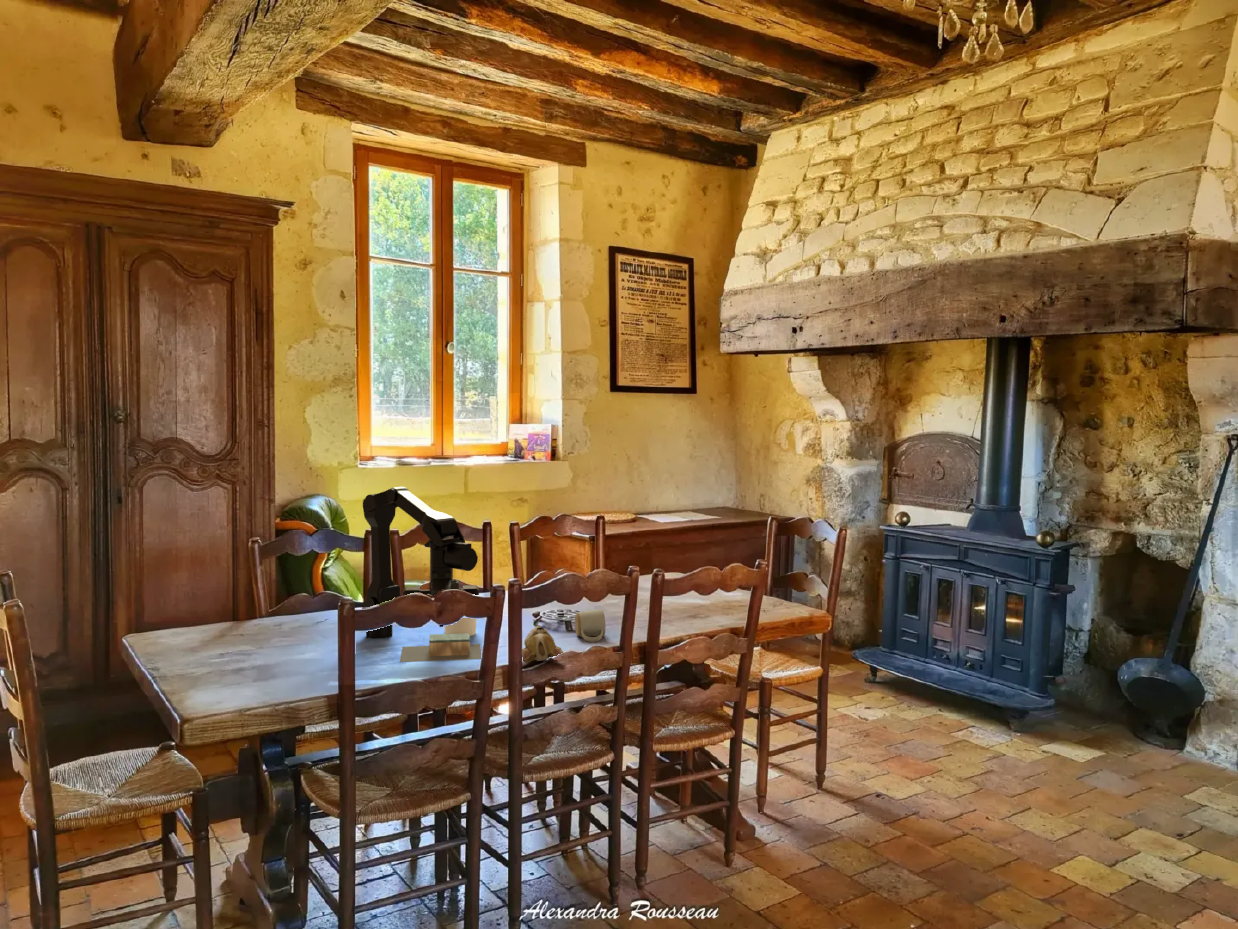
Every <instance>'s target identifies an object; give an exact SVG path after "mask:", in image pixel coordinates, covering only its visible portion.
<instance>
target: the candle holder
mask: <svg viewBox="0 0 1238 929" xmlns="http://www.w3.org/2000/svg"><path fill="white" fill-rule="evenodd" d="M443 627H444V634H464V633H469V637H471V636H474V635H476V632H477V619H471V618H462V619H460V621H458V622H457V623H454V624H453V625H448V626H444V625H443Z"/></svg>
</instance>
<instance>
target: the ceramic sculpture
mask: <svg viewBox="0 0 1238 929" xmlns="http://www.w3.org/2000/svg"><path fill="white" fill-rule="evenodd" d="M524 646H525V647H523V648H522V649H521V650H522V657H523V661H522V662H524V663H526V664H528V663H531V662H532V661H533V662H534V660H541V661H542V660H545V659H547V658H549V657H553V656H557V655H558V654H561V653H563V654H564V651H563V650H562V648H561V647H559V646H557V645H556V642H555V639H554V637H552V636H551V634H550V632H548V629H546V628H544V627H542V626H541V625H540V624H537V625H536V626H535V627H533V629H531V630H530V632H528V634H527V636H526V638H525V639H524Z"/></svg>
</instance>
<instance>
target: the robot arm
mask: <svg viewBox="0 0 1238 929" xmlns="http://www.w3.org/2000/svg"><path fill="white" fill-rule="evenodd" d="M397 508H400V509H401V511H403V512H405V513H406V514H407V515H408V516H409V517H411V518H413V519H414V520H415V521H416V522H417V523H418V524H420V527H421V531H422V532H423V534H424V535H425V536H426V537H427V538H428V541H427V542H426V543H425V544H424V548H428V549H429V589H421V587H420V586H419V585H418V586H405V587H404V589H403V593H402V594H403V595H407V594H410V593H414V592H421V593H423V594H426V595H430V596H434V595H436V594H437V593H438V592H439V591H441V590H442V589H461V590H465V591H467V592H470V593H472V594H475V595H479V596H480V589H479V586H477V584H473V585H472V584H468V585H467V584H466V585H462V588H460V586H459V585H460V583H459V582H460V580H459V579H454V569H455V570H459V571H465V572H470V571H472V570H474V569H475V568H476V566H477V564H478V559H479V558H478V554H477V551H476V550H475V549H474V548H473V547H472V543H471V542H466V540H465V537H464V535H463V533H462V532H461V530H460V527H459V525H458V523H457V520H456V519H455V517H454V516H452V515H449V514H447V513H445V512H442V511H437V510H434V509H433V508H432V507H430V506H429V505H427V504H426V502H424V501H423V500H421V499H420V498H418V497H417V496H416V495H415V494H413V493H412V492H410V490H409V488H407V487H405V486H398V487H397V486H395V487H391V488H388V489H386V490H383V491H381V492H378V493H370V494H367V495H366V496H365V498H363V500H362V509H363V517H364V519H365V520H366V522H367V523H368V525H369V527H370V540H371V544H370V545H371V548H370V549H371V567H372V568H371V569H372V570H371V572H372V581H371V583H370V585H369V587H368V588H367V590H366V600H365V602H364V603H363V604H362V605H361V607H370V606H373V605H376V604H380V603H382V602H385V601H389V600H392V599H393V598H394V597H397V596H400V597H401V593H400V592H401V587H400V585H399V584H397V585H396V583H395V581H394V580H393V578H392V577H393V576H392V556H391V554H392V553H391V552H392V550H391V548H392V547H391V530H390V529H391V525H392V522H393V520H394V519H395V517H396V510H397ZM403 595H402V596H403ZM438 626H439V628H443V627H444V625H439V624H438ZM393 627H394V624H393V625H390V626H387V627H384V628H380V629H377V630H373V631H368V632H366V631H365V638H366V639H373V640H374V639H375V640H378V639H385V638H392V637H393V633H394V628H393Z"/></svg>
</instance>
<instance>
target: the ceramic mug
mask: <svg viewBox="0 0 1238 929" xmlns="http://www.w3.org/2000/svg"><path fill="white" fill-rule="evenodd" d="M604 612H605V611H604V610H603V609H593V610H586V611H585V610H584V611H579V612H577V613H575V616H574V627H575V633H576V636H578V637H580V638H583V639H584V640H585V641H586V642H589V643H595V642H598V641H601V640H602V638H603V637H605V635H606V627H607V626H606V617H605V613H604Z"/></svg>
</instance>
